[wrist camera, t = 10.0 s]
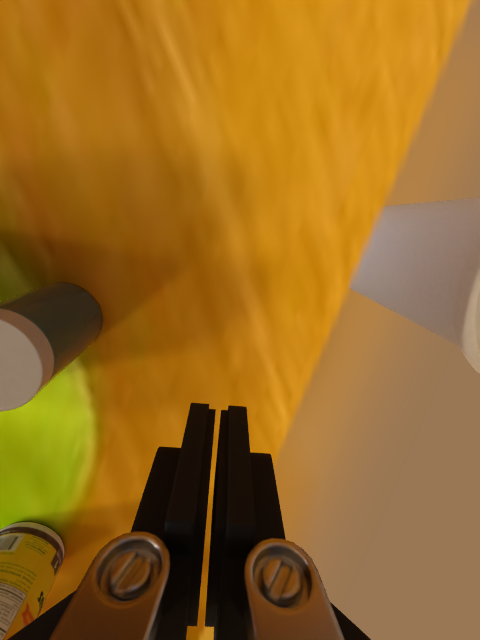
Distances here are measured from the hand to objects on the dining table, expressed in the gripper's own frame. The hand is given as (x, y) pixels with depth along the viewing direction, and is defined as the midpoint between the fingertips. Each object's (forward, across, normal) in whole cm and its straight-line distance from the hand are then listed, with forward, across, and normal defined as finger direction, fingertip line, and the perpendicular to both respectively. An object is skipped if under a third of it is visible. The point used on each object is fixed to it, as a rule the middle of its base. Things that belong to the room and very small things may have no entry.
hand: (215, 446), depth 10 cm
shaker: (+8, +10, 0) cm, 12 cm away
